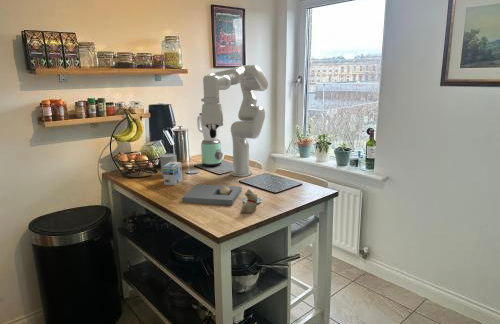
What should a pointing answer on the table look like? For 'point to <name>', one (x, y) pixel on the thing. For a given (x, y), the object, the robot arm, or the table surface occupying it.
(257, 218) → the table surface
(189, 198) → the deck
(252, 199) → the chocolate bunny
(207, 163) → the mint green blender
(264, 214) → the table surface
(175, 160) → the grey piece
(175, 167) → the light bulb box
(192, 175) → the table surface
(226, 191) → the ball
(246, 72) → the robot arm
